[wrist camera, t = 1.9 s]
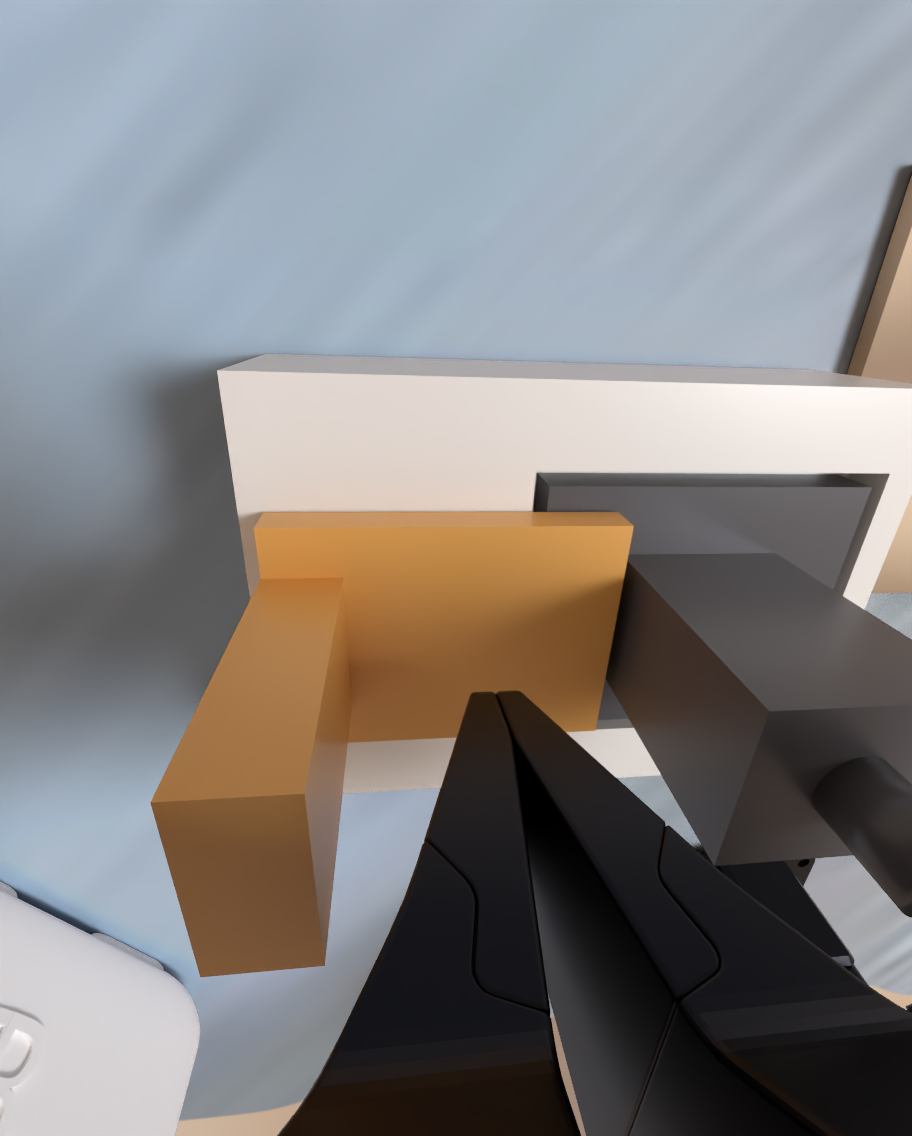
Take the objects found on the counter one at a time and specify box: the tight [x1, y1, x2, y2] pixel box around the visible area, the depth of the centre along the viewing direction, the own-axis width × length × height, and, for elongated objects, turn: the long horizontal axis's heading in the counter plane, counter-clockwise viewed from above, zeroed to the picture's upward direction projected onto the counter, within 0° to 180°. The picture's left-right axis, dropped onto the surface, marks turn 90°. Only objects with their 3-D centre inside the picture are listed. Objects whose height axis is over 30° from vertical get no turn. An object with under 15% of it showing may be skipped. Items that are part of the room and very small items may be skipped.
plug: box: [533, 473, 912, 917], centre depth 10 cm, size 6×7×8 cm
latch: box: [151, 512, 634, 977], centre depth 9 cm, size 5×7×6 cm
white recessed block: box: [217, 354, 912, 794], centre depth 14 cm, size 10×14×4 cm
